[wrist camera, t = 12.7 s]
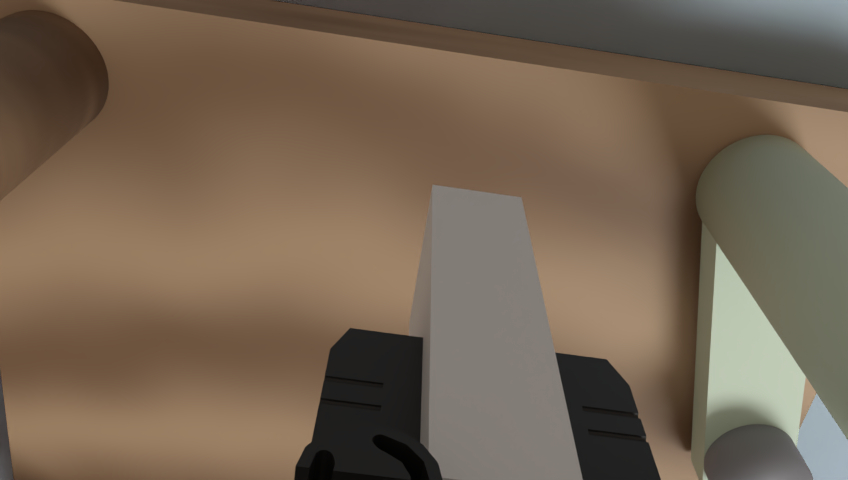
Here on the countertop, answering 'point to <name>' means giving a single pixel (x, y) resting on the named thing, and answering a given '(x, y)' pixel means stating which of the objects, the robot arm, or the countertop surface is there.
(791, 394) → the crank handle
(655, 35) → the countertop surface
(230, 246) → the wooden peg board
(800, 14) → the countertop surface
